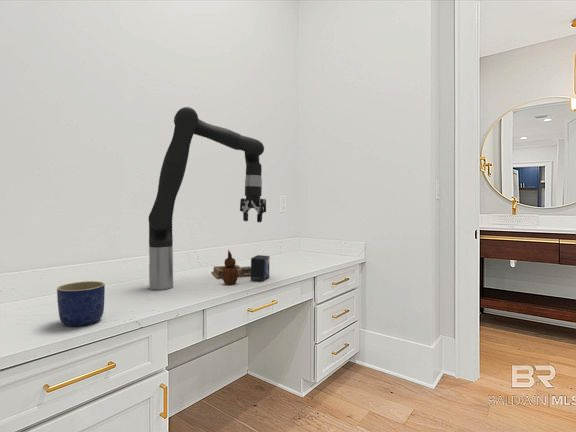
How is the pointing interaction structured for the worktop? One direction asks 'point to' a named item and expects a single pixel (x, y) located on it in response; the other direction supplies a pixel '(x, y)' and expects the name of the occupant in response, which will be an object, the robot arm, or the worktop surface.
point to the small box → (260, 268)
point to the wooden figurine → (230, 270)
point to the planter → (81, 302)
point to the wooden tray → (241, 271)
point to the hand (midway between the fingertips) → (252, 221)
